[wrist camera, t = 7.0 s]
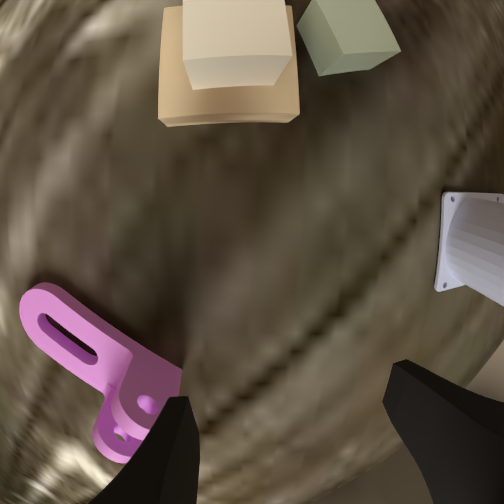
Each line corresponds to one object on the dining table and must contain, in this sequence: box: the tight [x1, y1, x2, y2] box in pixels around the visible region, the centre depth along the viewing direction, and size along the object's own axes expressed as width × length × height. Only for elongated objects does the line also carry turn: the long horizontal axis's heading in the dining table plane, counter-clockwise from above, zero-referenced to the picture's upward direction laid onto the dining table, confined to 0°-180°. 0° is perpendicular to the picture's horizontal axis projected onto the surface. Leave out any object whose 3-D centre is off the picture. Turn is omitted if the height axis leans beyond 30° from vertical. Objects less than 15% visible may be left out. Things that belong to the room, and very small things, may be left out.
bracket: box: [20, 282, 182, 463], centre depth 15 cm, size 13×6×7 cm, turn 52°
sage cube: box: [297, 0, 401, 76], centre depth 12 cm, size 4×4×4 cm
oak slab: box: [158, 5, 300, 127], centre depth 13 cm, size 7×7×3 cm
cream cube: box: [183, 0, 292, 90], centre depth 10 cm, size 4×4×4 cm
